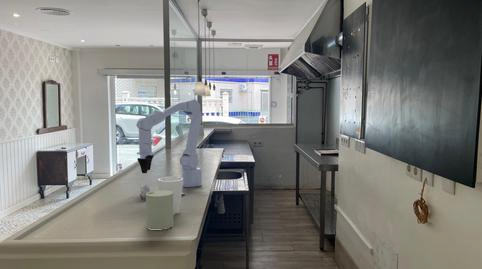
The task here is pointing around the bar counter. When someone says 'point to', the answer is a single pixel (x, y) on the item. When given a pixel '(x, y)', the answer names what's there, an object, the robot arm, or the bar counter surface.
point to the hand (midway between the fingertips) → (146, 171)
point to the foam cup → (172, 189)
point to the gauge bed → (146, 189)
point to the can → (159, 209)
